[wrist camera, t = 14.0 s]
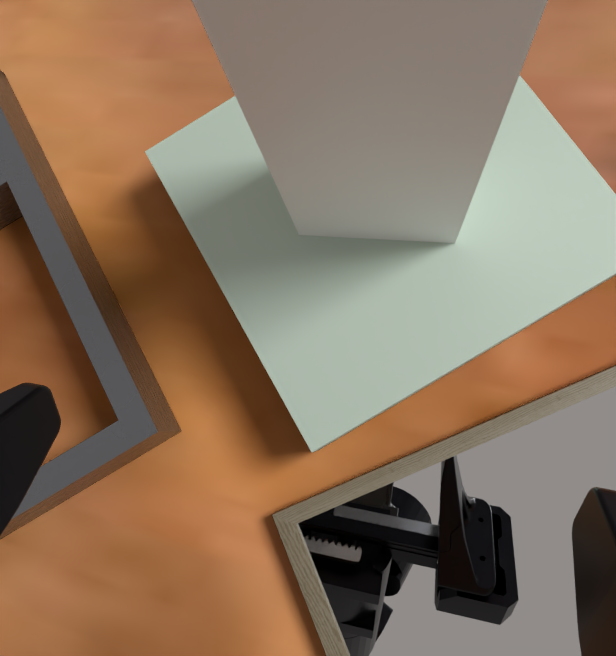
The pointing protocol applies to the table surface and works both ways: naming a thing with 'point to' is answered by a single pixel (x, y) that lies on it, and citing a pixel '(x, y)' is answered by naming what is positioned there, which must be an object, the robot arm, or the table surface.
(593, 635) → the robot arm
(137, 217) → the table surface
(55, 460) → the offcut tray
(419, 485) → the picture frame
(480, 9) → the tall white cuboid
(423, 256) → the green board
